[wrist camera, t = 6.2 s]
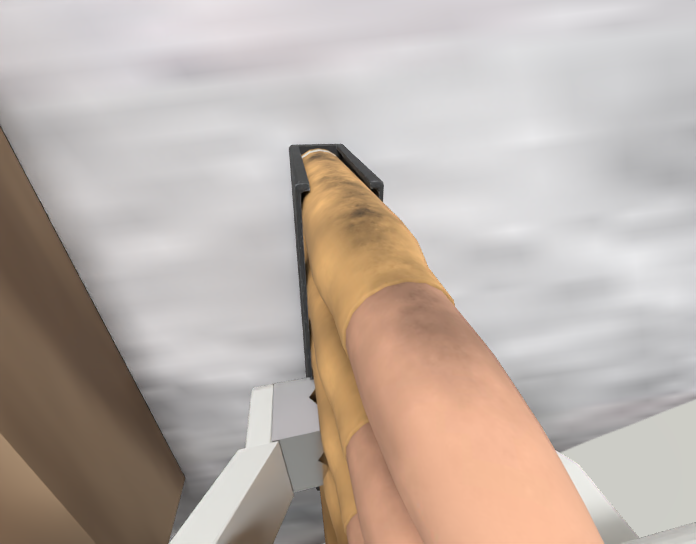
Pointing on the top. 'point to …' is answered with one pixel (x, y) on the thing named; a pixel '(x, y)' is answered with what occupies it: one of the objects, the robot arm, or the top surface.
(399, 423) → the ammunition clip
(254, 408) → the robot arm
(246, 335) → the top surface
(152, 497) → the slotted wooden block
